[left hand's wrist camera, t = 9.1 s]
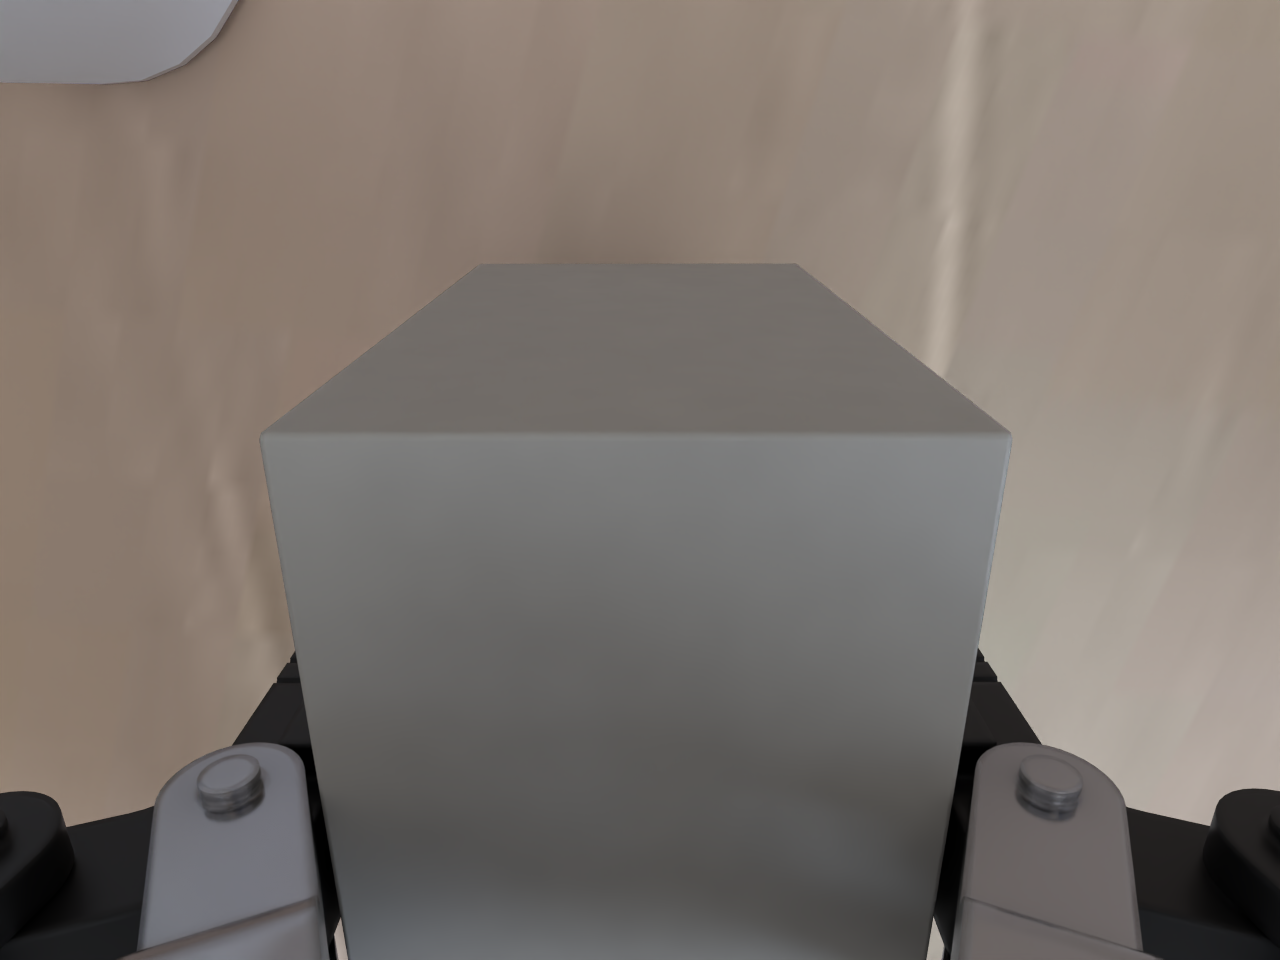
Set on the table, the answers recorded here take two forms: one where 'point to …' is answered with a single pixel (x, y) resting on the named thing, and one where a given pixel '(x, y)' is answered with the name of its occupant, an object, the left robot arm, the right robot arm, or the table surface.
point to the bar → (636, 618)
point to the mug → (103, 38)
